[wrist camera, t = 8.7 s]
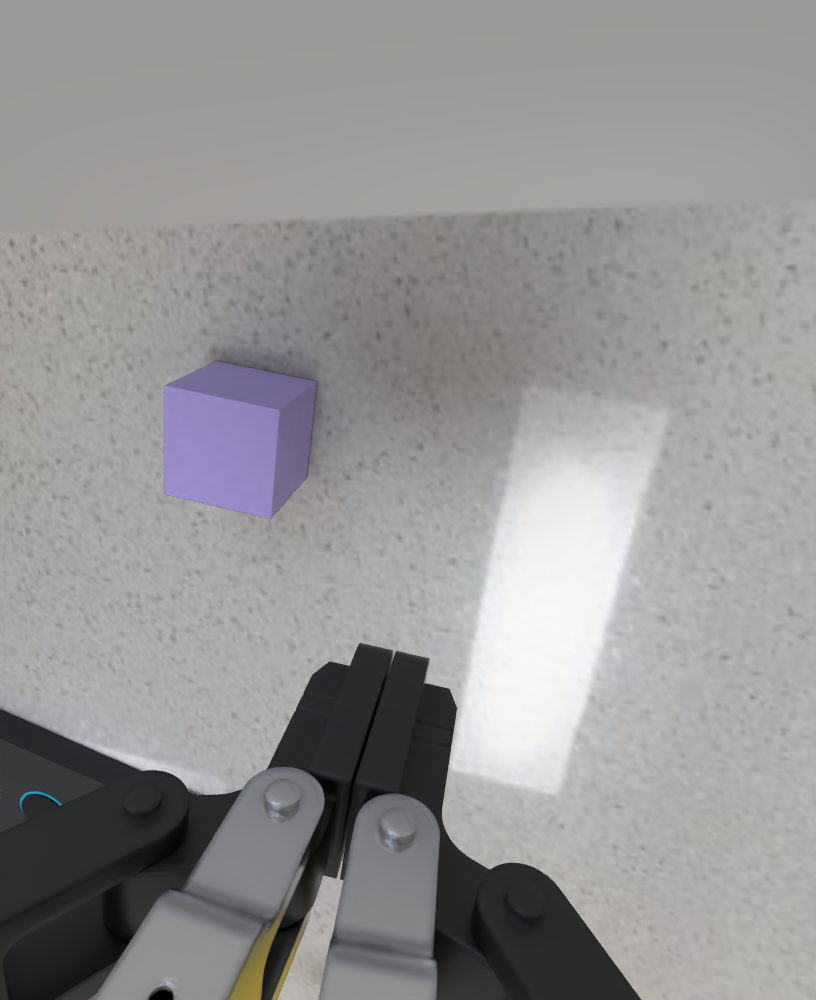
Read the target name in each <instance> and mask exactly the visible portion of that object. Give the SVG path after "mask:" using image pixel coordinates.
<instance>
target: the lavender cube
mask: <svg viewBox="0 0 816 1000" xmlns="http://www.w3.org/2000/svg"><path fill="white" fill-rule="evenodd" d="M316 386H317V382H315V381H311V380H306V379H301V378H296V377H291V376H287V375H282V374H277V373H272V372H267V371H263V370H258V369H253V368H248V367H243V366H239V365H234V364H229V363H224V362H219V361H216V362H214V363H212V364H210V365H208V366H206V367H203V368H201V369H199V370H197V371H195V372H193V373H190V374H188V375H186V376H184V377H182V378H180V379H178V380H175V381H173V382H171V383H169V384H167V385H165V386H164V494H165V495H169V496H173V497H177V498H182V499H186V500H190V501H195V502H199V503H203V504H208V505H212V506H216V507H221V508H225V509H229V510H234V511H238V512H242V513H247V514H251V515H255V516H260V517H264V518H268V519H271V518H272V517H273V516H274V515H275V514H276V513H277V512H278V510H279V509H280V508H281V507H282V506H283V505H284V503H285V502H286V501H287V500H288V499H289V498H290V497H291V495H292V494H293V493H294V492H295V491H296V490H297V488H298V487H299V486H300V485H301V484H302V483H303V482H304V480H305V479H306V478H307V472H308V463H309V453H310V444H311V434H312V424H313V415H314V405H315V396H316Z"/></svg>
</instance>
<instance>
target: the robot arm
mask: <svg viewBox="0 0 816 1000" xmlns="http://www.w3.org/2000/svg"><path fill="white" fill-rule="evenodd" d="M429 659H430V658H425V657H421V656H416V655H412V654H408V653H403V652H399V651H396V652H395V655H394V658H393V650H389V649H385V648H380V647H376V646H371V645H367V644H363V643H360V644H359V645H358V647H357V650H356V652H355V655H354V657H353V660H352V662H351V665H350V666H347V665H343V664H338V663H334V662H330V661H329V662H328V663H327V664H326V665H324V666H323V667H322V668H321V669H319V670H318V671H317V672H315V673H314V674H313V675H312V677H311V679H310V681H309V683H308V685H307V687H306V689H305V691H304V694H303V697H301V699H300V702H299V704H298V706H297V708H296V712H294V714H293V716H292V718H291V720H290V722H289V724H288V727H287V729H286V731H285V733H284V735H283V737H282V739H281V741H280V743H279V745H278V747H277V749H276V752H275V754H274V756H273V758H272V760H271V762H270V764H269V766H268V768H267V769H266V770H265V771H262V772H260V773H258V774H257V775H255V776H254V777H252V778H251V779H250V780H249V781H248V782H247V784H246V785H245V786H244V788H243V789H241V790H238V791H236V792H232V793H228V794H220V795H200V796H189V795H188V790H187V788H186V786H185V785H184V783H183V782H182V781H181V780H180V779H179V778H177V777H176V776H174V775H172V774H170V773H167V772H163V771H157V770H148V771H140V772H136V773H133V774H130V775H127V776H125V777H122V778H120V779H118V780H116V781H114V782H111V783H109V784H107V785H105V786H102V787H100V788H98V789H96V790H94V791H91V792H89V793H87V794H85V795H82V796H80V797H78V798H76V799H73V800H71V801H69V802H67V803H65V804H62V805H60V806H58V807H56V808H53V809H51V810H49V811H47V812H44V813H42V814H40V815H38V816H36V817H33V818H31V819H29V820H27V821H24V822H22V823H20V824H18V825H15V826H13V827H11V828H9V829H7V830H4V831H2V832H0V1000H88V999H90V998H91V997H92V996H94V995H96V994H97V995H96V996H95V998H94V999H93V1000H277V999H278V996H279V994H280V991H281V989H282V986H283V984H284V981H285V979H286V976H287V974H288V971H289V969H290V966H291V964H292V961H293V959H294V956H295V954H296V951H297V949H298V946H299V944H300V941H301V939H302V936H303V934H304V931H305V929H306V926H307V924H308V921H309V918H310V913H311V908H312V906H313V904H314V902H315V899H316V896H317V893H318V890H319V887H320V884H321V880H322V877H323V875H325V876H328V877H332V878H337V875H338V871H339V868H340V865H341V861H342V858H343V864H342V871H341V877H340V879H341V880H344V881H343V886H342V891H341V896H340V901H339V906H338V911H337V916H336V921H335V926H334V931H333V936H332V939H331V941H330V945H329V950H328V955H327V959H326V964H325V969H324V974H323V979H322V984H321V989H320V994H319V999H318V1000H641V999H640V997H639V996H638V995H637V993H636V992H635V991H634V989H633V988H632V987H631V985H630V984H629V982H628V981H627V980H626V978H625V977H624V976H623V974H622V973H621V972H620V970H619V969H618V967H617V966H616V965H615V963H614V962H613V961H612V959H611V958H610V957H609V955H608V954H607V953H606V951H605V950H604V948H603V947H602V946H601V944H600V943H599V942H598V940H597V939H596V938H595V936H594V935H593V933H592V932H591V931H590V929H589V928H588V927H587V925H586V924H585V923H584V921H583V920H582V919H581V917H580V916H579V914H578V913H577V912H576V910H575V909H574V908H573V906H572V905H571V904H570V902H569V901H568V899H567V898H566V897H565V895H564V894H563V893H562V891H561V890H560V889H559V887H558V886H557V885H556V884H555V883H554V882H553V881H552V880H551V879H550V878H549V877H548V876H547V875H545V874H544V873H542V872H541V871H539V870H537V869H535V868H534V867H531V866H528V865H525V864H520V863H505V864H501V865H498V866H496V867H494V868H492V869H491V870H489V869H487V868H486V867H484V866H482V865H481V864H479V863H477V862H476V861H474V860H472V859H471V858H469V857H468V856H466V855H465V854H464V853H462V852H461V851H460V850H459V849H458V848H457V847H456V846H455V845H454V843H453V842H452V841H451V839H450V838H449V836H448V835H447V833H446V830H445V828H444V825H443V821H442V805H443V799H444V792H445V785H446V779H447V772H448V765H449V758H450V752H451V745H452V738H453V731H454V725H455V718H456V712H457V707H456V704H455V702H454V699H453V697H452V694H451V691H450V689H448V688H444V687H439V686H435V685H431V684H426V683H425V681H426V675H427V670H428V665H429ZM392 660H393V661H392ZM343 854H344V857H343Z"/></svg>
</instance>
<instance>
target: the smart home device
mask: <svg viewBox="0 0 816 1000" xmlns="http://www.w3.org/2000/svg"><path fill="white" fill-rule="evenodd" d="M136 772H140V771H138V770H135V769H133V768H131V767H128V766H126V765H124V764H122V763H119V762H117V761H115V760H113V759H110V758H108V757H106V756H103V755H101V754H99V753H97V752H94V751H92V750H90V749H87V748H85V747H83V746H81V745H78V744H76V743H74V742H71V741H69V740H67V739H65V738H62V737H60V736H58V735H55V734H53V733H51V732H49V731H46V730H44V729H42V728H39V727H37V726H35V725H33V724H30V723H28V722H26V721H23V720H21V719H19V718H17V717H14V716H12V715H10V714H8V713H5V712H3V711H1V710H0V832H2V831H4V830H7V829H9V828H11V827H13V826H15V825H18V824H20V823H22V822H24V821H27V820H29V819H31V818H33V817H36V816H38V815H40V814H42V813H44V812H47V811H49V810H51V809H53V808H56V807H58V806H60V805H62V804H65V803H67V802H69V801H71V800H73V799H76V798H78V797H80V796H82V795H85V794H87V793H89V792H91V791H94V790H96V789H98V788H100V787H102V786H105V785H107V784H109V783H111V782H114V781H116V780H118V779H120V778H122V777H125V776H127V775H130V774H133V773H136ZM188 795H189V796H195V795H192V794H190V793H188Z"/></svg>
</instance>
